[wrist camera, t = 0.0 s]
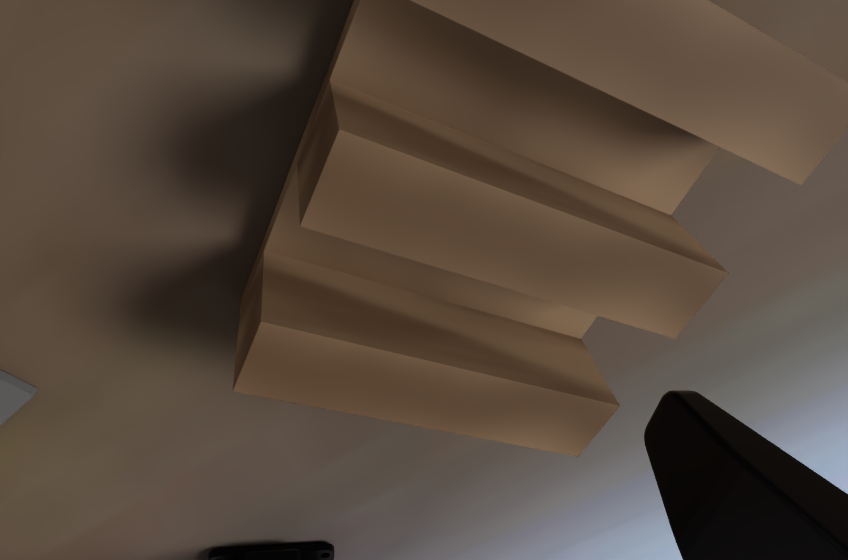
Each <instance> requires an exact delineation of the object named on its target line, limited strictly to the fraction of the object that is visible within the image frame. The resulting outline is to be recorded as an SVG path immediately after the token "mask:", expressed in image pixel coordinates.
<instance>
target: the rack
mask: <svg viewBox="0 0 848 560" xmlns="http://www.w3.org/2000/svg"><path fill="white" fill-rule="evenodd" d="M847 128H848V83H847V82H846V81H844V80H842V79H841V78H839V77H837V76H836V75H834V74H832V73H831V72H829V71H827V70H825V69H824V68H822V67H820V66H819V65H817V64H815V63H814V62H812V61H810V60H809V59H807V58H805V57H803V56H802V55H800V54H798V53H797V52H795V51H793V50H792V49H790V48H788V47H787V46H785V45H783V44H781V43H780V42H778V41H776V40H775V39H773V38H771V37H770V36H768V35H766V34H765V33H763V32H761V31H759V30H758V29H756V28H754V27H753V26H751V25H749V24H748V23H746V22H744V21H743V20H741V19H739V18H737V17H736V16H734V15H732V14H731V13H729V12H727V11H726V10H724V9H722V8H721V7H719V6H717V5H715V4H714V3H712V2H710V1H709V0H354V2H353V4H352V7H351V9H350V12H349V15H348V17H347V20H346V23H345V25H344V28H343V31H342V33H341V36H340V39H339V41H338V44H337V46H336V49H335V52H334V54H333V57H332V60H331V62H330V65H329V68H328V70H327V73H326V75H325V78H324V81H323V83H322V86H321V89H320V91H319V94H318V97H317V99H316V102H315V104H314V107H313V110H312V112H311V115H310V118H309V120H308V123H307V126H306V128H305V131H304V133H303V136H302V139H301V141H300V144H299V147H298V149H297V152H296V155H295V157H294V160H293V163H292V165H291V168H290V170H289V173H288V176H287V178H286V181H285V184H284V186H283V189H282V192H281V194H280V197H279V199H278V202H277V205H276V207H275V210H274V213H273V215H272V218H271V221H270V223H269V226H268V228H267V231H266V234H265V236H264V239H263V242H262V244H261V247H260V250H259V252H258V255H257V257H256V260H255V263H254V265H253V268H252V271H251V273H250V276H249V279H248V281H247V284H246V287H245V289H244V292H243V294H242V297H241V302H240V313H239V325H238V336H237V348H236V360H235V371H234V383H233V391H234V392H239V393H244V394H249V395H255V396H260V397H265V398H271V399H276V400H281V401H286V402H292V403H297V404H302V405H308V406H313V407H318V408H323V409H329V410H334V411H339V412H345V413H350V414H355V415H360V416H366V417H371V418H376V419H382V420H387V421H392V422H397V423H403V424H408V425H413V426H419V427H424V428H429V429H435V430H440V431H445V432H450V433H456V434H461V435H466V436H472V437H477V438H482V439H487V440H493V441H498V442H503V443H509V444H514V445H519V446H524V447H530V448H535V449H540V450H546V451H551V452H556V453H561V454H567V455H572V456H577V457H578V456H579V455H580V454H581V453H582V451H583V450H584V449H585V448H586V447H587V445H588V444H589V443H590V442H591V440H592V439H593V438H594V437H595V436H596V434H597V433H598V432H599V431H600V429H601V428H602V427H603V426H604V425H605V423H606V422H607V421H608V420H609V419H610V417H611V416H612V415H613V414H614V412H615V411H616V410H617V409H618V408H619V406H620V405H619V403H618V402H617V400H616V398H615V397H614V395H613V393H612V391H611V390H610V388H609V386H608V385H607V383H606V381H605V379H604V378H603V376H602V374H601V373H600V371H599V369H598V367H597V366H596V364H595V362H594V361H593V359H592V357H591V355H590V354H589V352H588V350H587V349H586V347H585V345H584V343H583V342H582V340H581V338H582V336H583V335H584V334H585V332H586V331H587V329H588V328H589V327H590V325H591V324H592V323H593V321H594V320H595V318H596V317H597V316H601V317H604V318H608V319H611V320H614V321H618V322H621V323H624V324H628V325H631V326H634V327H638V328H641V329H644V330H648V331H651V332H654V333H658V334H661V335H664V336H668V337H671V338H674V339H675V338H676V337H677V336H678V334H679V333H680V332H681V331H682V330H683V328H684V327H685V326H686V325H687V323H688V322H689V321H690V320H691V319H692V317H693V316H694V315H695V314H696V312H697V311H698V310H699V309H700V308H701V306H702V305H703V304H704V303H705V302H706V300H707V299H708V298H709V297H710V295H711V294H712V293H713V292H714V291H715V289H716V288H717V287H718V286H719V284H720V283H721V282H722V281H723V280H724V278H725V277H726V276H727V275H728V272H727V271H726V270H725V269H724V268H723V267H722V266H721V265H720V264H719V263H718V262H717V261H716V260H715V259H714V258H713V257H712V256H711V255H710V254H709V253H708V252H707V251H706V250H705V249H704V248H703V247H702V246H701V245H700V244H699V243H698V242H697V241H696V240H695V239H694V238H693V237H692V236H691V235H690V234H689V233H688V232H687V231H686V230H685V229H684V228H683V227H682V226H681V225H680V224H679V223H678V222H677V221H676V220H675V219H674V218H673V217H672V216H671V214H672V213H673V211H674V210H675V209H676V207H677V206H678V204H679V203H680V202H681V200H682V199H683V198H684V196H685V195H686V193H687V192H688V191H689V189H690V188H691V187H692V185H693V184H694V182H695V181H696V180H697V178H698V177H699V176H700V174H701V173H702V171H703V170H704V169H705V167H706V166H707V165H708V163H709V162H710V161H711V159H712V158H713V156H714V155H715V154H716V152H717V151H718V150H719V148H720V147H721V148H723V149H726V150H728V151H730V152H732V153H734V154H736V155H738V156H740V157H742V158H745V159H747V160H749V161H751V162H753V163H755V164H757V165H759V166H761V167H764V168H766V169H768V170H770V171H772V172H774V173H776V174H778V175H780V176H783V177H785V178H787V179H789V180H791V181H793V182H795V183H797V184H799V185H802V183H803V182H804V181H805V180H806V178H807V177H808V176H809V175H810V174H811V172H812V171H813V170H814V169H815V167H816V166H817V165H818V164H819V163H820V161H821V160H822V159H823V158H824V157H825V155H826V154H827V153H828V152H829V150H830V149H831V148H832V147H833V146H834V144H835V143H836V142H837V141H838V139H839V138H840V137H841V136H842V135H843V133H844V132H845V131H846V130H847Z"/></svg>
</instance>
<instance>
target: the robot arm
mask: <svg viewBox="0 0 848 560" xmlns="http://www.w3.org/2000/svg"><path fill="white" fill-rule="evenodd" d="M644 440H645V446H646V450H647V453H648V456H649V459H650V462H651V466H652V469H653V472H654V475H655V478H656V481H657V485H658V488H659V491H660V494H661V497H662V500H663V504H664V507H665V510H666V513H667V516H668V519H669V523H670V526H671V529H672V532H673V534H674V537H675V540H676V543H677V546H678V548H679V551H680V553H681V556H682V558H683V560H848V494H847V493H845V492H844V491H842V490H841V489H839V488H838V487H836V486H835V485H833V484H832V483H830V482H829V481H827V480H826V479H824V478H823V477H821V476H820V475H818V474H817V473H816V472H814V471H813V470H811V469H810V468H808V467H807V466H805V465H804V464H802V463H801V462H799V461H798V460H796V459H795V458H793V457H792V456H790V455H789V454H788V453H786V452H785V451H783V450H782V449H780V448H779V447H777V446H776V445H774V444H773V443H771V442H770V441H768V440H767V439H765V438H764V437H762V436H761V435H759V434H758V433H757V432H755V431H754V430H752V429H751V428H749V427H748V426H746V425H745V424H743V423H742V422H740V421H739V420H737V419H736V418H734V417H733V416H731V415H730V414H729V413H727V412H726V411H724V410H723V409H721V408H720V407H718V406H717V405H715V404H714V403H712V402H711V401H709V400H708V399H706V398H705V397H703V396H702V395H701V394H699V393H697V392H694V391H668V392H667V393H666V394H664V395H663V397H662V398H661V400H660V402H659V404H658V406H657V408H656V410H655V411H654V413H653V415H652V417H651V419H650V421H649V423H648V425H647V427H646V429H645V433H644ZM208 560H334V546H333V545H332V544H329V543H320V544H302V545H285V546H267V547H250V548H232V549H217V550H213V551H211V552H210V553H209V555H208Z"/></svg>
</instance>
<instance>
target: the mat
mask: <svg viewBox="0 0 848 560" xmlns="http://www.w3.org/2000/svg"><path fill="white" fill-rule="evenodd" d="M36 390H37V388H35V387H33V386H31V385H29V384H27V383H25V382H23V381H21V380H19V379H17V378H15V377H13V376H11V375H9V374H7V373H5V372H3V371H2V370H0V425H1V424H3V423H4V422H5V421H6V420H7V419H8V418H9V417H11V416H12V415H13V414H14V413H15V412H16V411H17V410H18V409H20V408H21V407H22V406H23V405H24V404H25V403H26V402H28V401H29V400H30V399H31V398H32V397H33V396H34V395H35V392H36Z"/></svg>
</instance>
